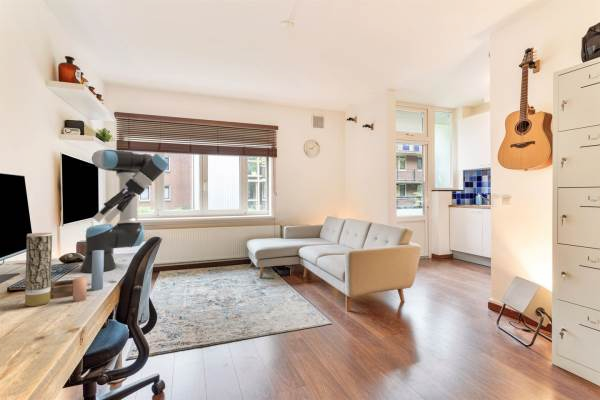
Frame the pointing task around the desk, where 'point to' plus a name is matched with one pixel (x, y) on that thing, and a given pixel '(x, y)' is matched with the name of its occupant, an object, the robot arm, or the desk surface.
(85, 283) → the terracotta pin
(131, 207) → the robot arm
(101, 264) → the slate-blue pin
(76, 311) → the desk surface
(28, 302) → the bark-patterned canister
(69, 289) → the walnut socket block
